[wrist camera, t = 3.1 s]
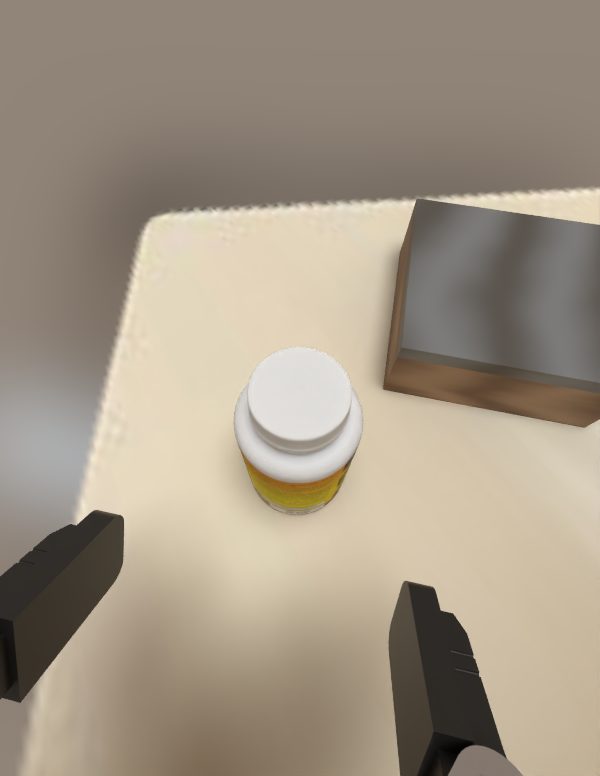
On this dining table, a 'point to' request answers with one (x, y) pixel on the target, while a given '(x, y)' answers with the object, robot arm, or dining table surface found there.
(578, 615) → the dining table surface
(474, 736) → the robot arm
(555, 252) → the block
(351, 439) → the supplement bottle
